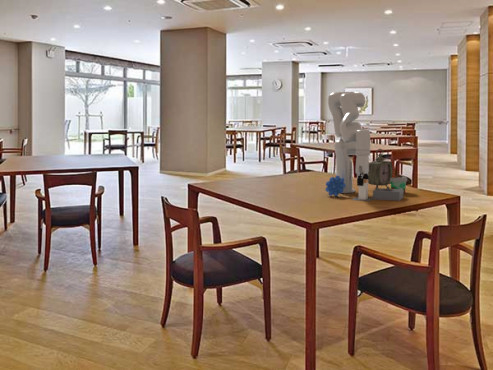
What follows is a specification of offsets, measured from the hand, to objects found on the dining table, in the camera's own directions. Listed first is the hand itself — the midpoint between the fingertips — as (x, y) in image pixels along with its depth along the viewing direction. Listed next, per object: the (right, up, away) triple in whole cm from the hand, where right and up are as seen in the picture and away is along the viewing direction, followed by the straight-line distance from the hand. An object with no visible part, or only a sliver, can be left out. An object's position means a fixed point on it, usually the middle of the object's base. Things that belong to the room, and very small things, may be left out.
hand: (362, 184), depth 265 cm
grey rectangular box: (+14, -8, 0) cm, 16 cm away
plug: (0, -8, +1) cm, 8 cm away
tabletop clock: (+17, -4, +31) cm, 36 cm away
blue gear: (-12, -7, +16) cm, 21 cm away
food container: (+25, -6, +14) cm, 30 cm away
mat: (0, -9, +1) cm, 9 cm away
